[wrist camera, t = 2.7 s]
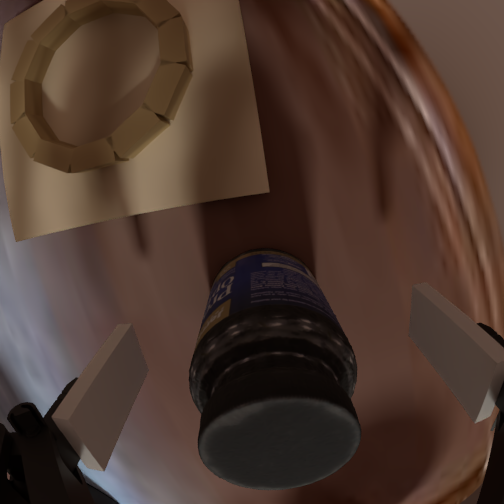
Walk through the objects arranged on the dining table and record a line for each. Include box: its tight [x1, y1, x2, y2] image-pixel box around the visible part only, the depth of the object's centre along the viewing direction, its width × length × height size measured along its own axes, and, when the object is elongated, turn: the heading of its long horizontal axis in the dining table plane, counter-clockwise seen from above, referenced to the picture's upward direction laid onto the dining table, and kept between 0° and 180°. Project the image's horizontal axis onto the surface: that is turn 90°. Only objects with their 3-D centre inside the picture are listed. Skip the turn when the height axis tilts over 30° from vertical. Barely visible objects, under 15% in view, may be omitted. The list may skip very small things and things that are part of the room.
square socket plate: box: [0, 0, 270, 242], centre depth 13 cm, size 16×16×3 cm
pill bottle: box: [189, 248, 361, 490], centre depth 13 cm, size 6×6×11 cm
